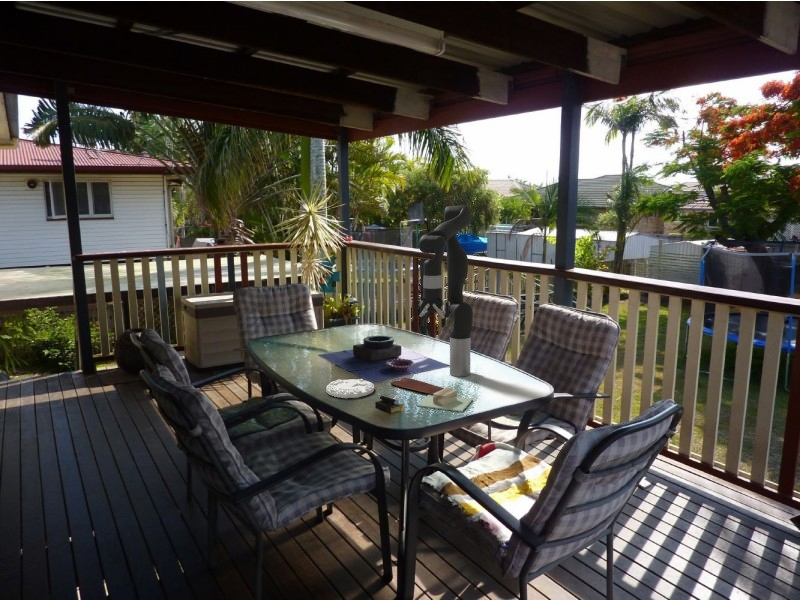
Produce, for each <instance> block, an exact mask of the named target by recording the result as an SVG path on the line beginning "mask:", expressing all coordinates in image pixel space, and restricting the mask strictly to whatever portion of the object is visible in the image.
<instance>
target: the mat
mask: <svg viewBox="0 0 800 600" xmlns="http://www.w3.org/2000/svg"><path fill="white" fill-rule="evenodd" d="M472 400H473V401H474V399H473V398H469V397H461V396H457V400H456V401H454V402H452V403H450V404H448V405H446V406H440V405H436V404H433V394H429V393H428V394H427V395H426V397H424V398H423V399H422V400H421V401H420V402H419V403H417V404H416V407H419V408H425V407H426V408H427V409H433V408H435V409H434V410H440V409H442V410H441V411H448V410H453V411H452V412H456V411H460V412H459V413H463V412H464V411H465V410H466V409H467V407H469V405H470V404H471V403H472V402H473V401H472ZM471 401H472V402H471ZM465 408H466V409H465ZM464 409H465V410H464ZM463 410H464V411H463Z"/></svg>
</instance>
